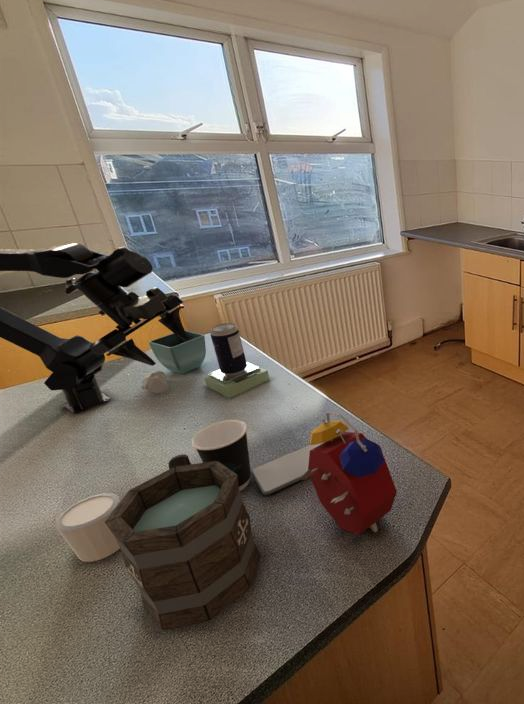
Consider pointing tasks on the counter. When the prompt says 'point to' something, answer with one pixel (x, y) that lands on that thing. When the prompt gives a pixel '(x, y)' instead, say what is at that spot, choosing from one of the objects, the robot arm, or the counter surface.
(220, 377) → the pan
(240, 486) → the dixie cup
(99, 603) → the counter surface
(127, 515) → the mug
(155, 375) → the pale two-lobed sculpture
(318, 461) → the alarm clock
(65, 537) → the white tapered cup
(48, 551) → the counter surface
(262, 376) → the scale
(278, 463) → the smartphone
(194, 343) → the flower pot
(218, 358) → the beverage can
